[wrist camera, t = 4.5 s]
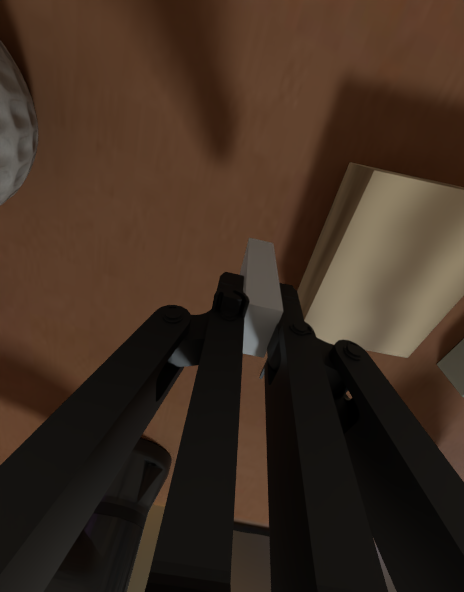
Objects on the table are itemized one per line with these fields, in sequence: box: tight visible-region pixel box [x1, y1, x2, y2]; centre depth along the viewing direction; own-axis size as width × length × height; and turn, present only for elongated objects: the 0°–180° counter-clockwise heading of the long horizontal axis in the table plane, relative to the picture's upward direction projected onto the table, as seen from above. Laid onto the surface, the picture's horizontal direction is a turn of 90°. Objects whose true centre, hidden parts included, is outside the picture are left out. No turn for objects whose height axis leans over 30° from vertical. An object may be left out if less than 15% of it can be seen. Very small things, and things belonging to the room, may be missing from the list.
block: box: [297, 162, 464, 358], centre depth 19 cm, size 10×13×4 cm
